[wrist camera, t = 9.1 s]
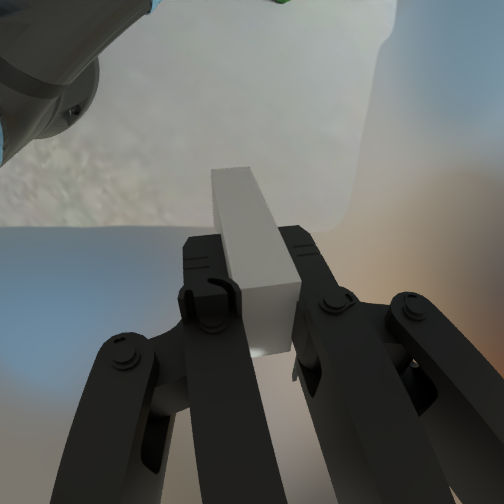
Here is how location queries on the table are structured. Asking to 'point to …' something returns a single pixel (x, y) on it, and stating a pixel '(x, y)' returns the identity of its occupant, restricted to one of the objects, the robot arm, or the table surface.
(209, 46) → the table surface
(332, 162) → the table surface
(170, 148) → the table surface
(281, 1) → the chalk box
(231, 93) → the table surface
